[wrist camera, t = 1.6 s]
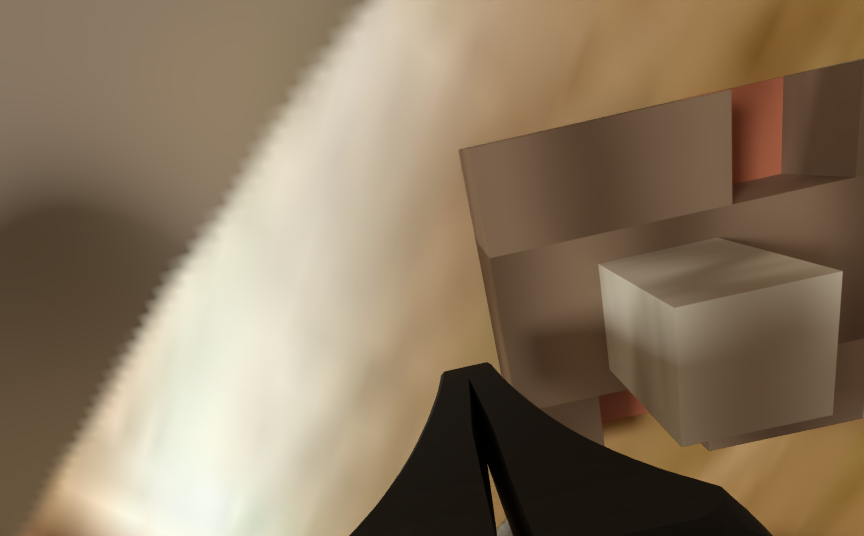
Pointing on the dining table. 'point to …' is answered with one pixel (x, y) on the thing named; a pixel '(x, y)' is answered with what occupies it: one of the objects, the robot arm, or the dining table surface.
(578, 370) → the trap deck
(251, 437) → the dining table surface
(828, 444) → the dining table surface
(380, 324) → the dining table surface
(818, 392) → the block
